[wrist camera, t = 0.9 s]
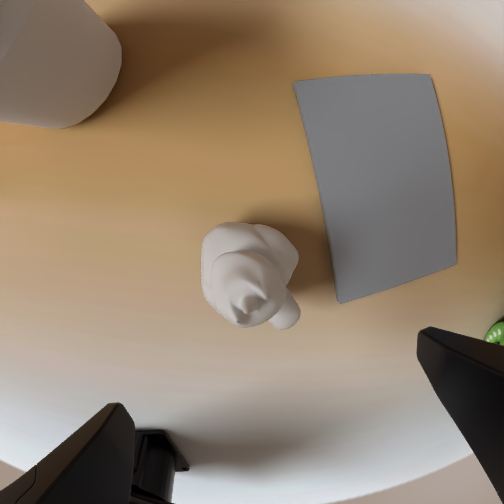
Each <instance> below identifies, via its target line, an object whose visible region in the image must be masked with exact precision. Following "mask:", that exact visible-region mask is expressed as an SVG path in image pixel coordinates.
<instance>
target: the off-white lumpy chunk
mask: <svg viewBox="0 0 504 504" xmlns="http://www.w3.org/2000/svg"><path fill="white" fill-rule="evenodd" d="M298 261H299V254H298V251H297V250H296V248H295V247H294V246H293V245H292V244H291V243H290V241H289V240H288V239H287V238H286V237H285V236H284V235H283V234H282V233H281V232H279V231H278V230H276V229H274V228H272V227H269V226H266V225H262V224H249V223H243V222H226V223H223V224H219V225H217V226H216V227H214V228H213V229H212V230H211V231H210V232H208V233H207V235H206V236H205V238H204V240H203V244H202V255H201V269H202V272H201V285H202V290H203V293H204V296H205V299H206V300H207V302H208V303H209V304H210V305H211V306H212V307H213V308H214V309H215V310H216V311H218V312H219V313H220V314H221V315H222V316H223V317H225V318H226V319H227V320H228V321H230V322H231V323H233V324H234V325H236V326H239V327H244V328H245V327H253V326H256V325H260V324H262V323H264V322H266V321H269V322H270V323H271V324H272V325H273V326H274V327H275V328H277V329H280V330H283V329H288V328H290V327H292V326H293V325H294V324H295V323H297V321H298V320H299V318H300V308H299V306H298V304H297V303H296V301H295V300H294V298H293V297H292V295H291V293H290V291H289V290H288V288H287V287H286V285H287V284H288V282H289V281H290V279H291V276H292V273H293V271H294V269H295V268H296V266H297V264H298Z"/></svg>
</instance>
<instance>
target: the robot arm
mask: <svg viewBox="0 0 504 504" xmlns="http://www.w3.org/2000/svg"><path fill="white" fill-rule="evenodd" d="M417 358H418V360H419V362H420V364H421V366H422V368H423V370H424V372H425V373H426V375H427V377H428V379H429V381H430V383H431V385H432V387H433V389H434V391H435V392H436V394H437V396H438V398H439V399H440V401H441V402H442V404H443V405H444V407H445V408H446V410H447V411H448V413H449V414H450V416H451V417H452V419H453V420H454V422H455V424H456V425H457V427H458V428H459V430H460V431H461V433H462V434H463V436H464V438H465V439H466V441H467V442H468V444H469V446H470V447H471V449H472V450H473V452H474V454H475V455H476V457H477V459H478V460H479V462H480V464H481V465H482V467H483V469H484V471H485V472H486V474H487V476H488V477H489V479H490V481H491V483H492V484H493V486H494V488H495V490H496V492H497V494H498V496H499V498H500V499H501V501H502V503H503V504H504V346H503V345H499V344H495V343H491V342H488V341H484V340H480V339H476V338H472V337H468V336H465V335H461V334H457V333H453V332H449V331H446V330H442V329H438V328H435V327H427V328H425V329H423V330H420V331H419V333H418V338H417ZM189 468H190V466H189V464H188V463H187V462H186V460H185V459H184V458H183V456H182V455H181V454H180V452H179V451H178V449H177V448H176V447H175V445H174V444H173V442H172V441H171V439H170V438H169V436H168V435H167V433H166V432H164V431H162V430H156V431H137V432H135V424H134V421H133V419H132V418H131V416H130V415H129V413H128V412H127V410H126V409H125V407H124V406H123V404H121V403H119V402H117V403H109V404H107V405H106V406H105V407H104V408H102V409H101V410H100V411H99V412H98V413H97V414H95V415H94V416H93V417H92V418H91V419H90V420H88V421H87V422H86V423H85V424H84V425H83V426H81V427H80V428H79V429H78V430H77V431H76V432H74V433H73V434H72V435H71V436H70V437H68V438H67V439H66V440H65V441H64V442H62V443H61V444H60V445H59V446H58V447H57V448H55V449H54V450H53V451H52V452H51V453H49V454H48V455H47V456H46V457H45V458H43V459H42V460H41V461H40V462H39V463H37V465H35V466H34V467H32V468H31V469H30V470H29V471H27V472H26V473H25V474H24V475H22V476H21V477H20V478H19V479H17V480H16V481H14V482H13V483H12V484H10V485H9V486H7V487H5V488H4V489H3V490H1V491H0V504H174V503H171V500H172V491H173V483H174V476H175V472H180V471H189Z"/></svg>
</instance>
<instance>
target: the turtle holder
mask: <svg viewBox="0 0 504 504" xmlns="http://www.w3.org/2000/svg"><path fill="white" fill-rule="evenodd" d="M484 341H488V342H491V343H495V342H497V341H498V342H500V344H499V345H503V346H504V322H498V323H496V324H495V325H493V326H492V327H491V329H490V330H489V331H488V333H487V335H486V337H485V340H484Z"/></svg>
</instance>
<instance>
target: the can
mask: <svg viewBox="0 0 504 504" xmlns="http://www.w3.org/2000/svg"><path fill="white" fill-rule="evenodd" d="M121 64H122V48H121V45H120V43H119V40H118V38H117V35H116V34H115V33H114V32H113V31H112V30H111V29H110V28H109V26H108V25H107V24H106V23H105V22H104V21H103V20H102V19H101V18H100V17H99V16H98V15H97V14H96V13H95V12H94V11H93V9H92V8H91V7H90V6H89V5H88V4H87V3H86V2H85V1H84V0H0V122H5V123H14V124H22V125H29V126H36V127H43V128H54V129H64V128H66V127H69V126H73V125H76V124H78V123H80V122H81V121H83V120H84V119H85V118H87V117H88V116H90V115H91V114H93V113H94V112H95V111H96V110H97V108H98V107H99V106H100V105H101V104H102V103H103V102H104V101H105V100H106V99H107V97H108V95H109V93H110V92H111V90H112V88H113V86H114V85H115V83H116V81H117V78H118V74H119V71H120V68H121Z"/></svg>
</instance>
